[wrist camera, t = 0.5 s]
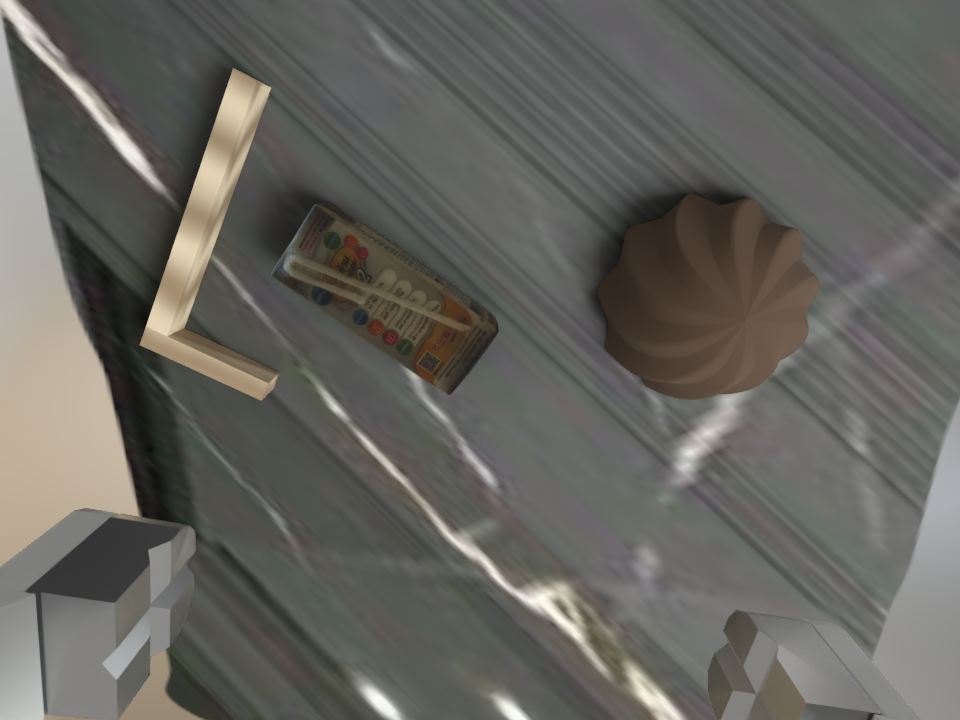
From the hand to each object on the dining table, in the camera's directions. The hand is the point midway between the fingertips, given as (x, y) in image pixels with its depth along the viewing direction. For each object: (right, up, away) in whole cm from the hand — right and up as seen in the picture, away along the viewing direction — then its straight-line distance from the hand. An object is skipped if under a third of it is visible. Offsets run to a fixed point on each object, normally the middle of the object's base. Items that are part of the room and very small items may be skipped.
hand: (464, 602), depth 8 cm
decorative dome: (+21, +10, +43) cm, 49 cm away
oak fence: (-20, +14, +41) cm, 48 cm away
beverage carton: (-8, +10, +43) cm, 45 cm away
